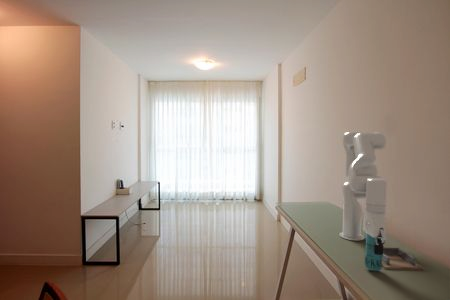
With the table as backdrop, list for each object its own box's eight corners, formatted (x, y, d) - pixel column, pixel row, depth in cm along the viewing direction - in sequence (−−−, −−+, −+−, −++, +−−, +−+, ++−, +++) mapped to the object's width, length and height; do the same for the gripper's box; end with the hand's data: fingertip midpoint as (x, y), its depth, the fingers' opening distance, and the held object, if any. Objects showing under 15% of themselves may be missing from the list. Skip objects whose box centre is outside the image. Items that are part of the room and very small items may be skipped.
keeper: (366, 253, 131) (366, 245, 131) (399, 254, 131) (400, 246, 131) (384, 269, 116) (385, 259, 115) (423, 270, 115) (423, 260, 115)
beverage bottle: (366, 265, 118) (367, 220, 118) (383, 270, 114) (385, 223, 113) (362, 271, 113) (364, 223, 113) (380, 276, 109) (382, 227, 108)
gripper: (356, 203, 122) (355, 242, 122) (377, 213, 104) (375, 259, 105) (373, 203, 121) (372, 243, 122) (397, 213, 104) (395, 260, 105)
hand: (373, 250), depth 113 cm, fingers closed on beverage bottle, 6 cm apart
